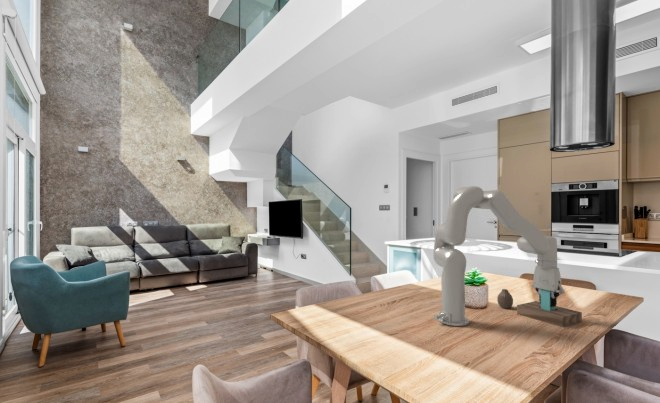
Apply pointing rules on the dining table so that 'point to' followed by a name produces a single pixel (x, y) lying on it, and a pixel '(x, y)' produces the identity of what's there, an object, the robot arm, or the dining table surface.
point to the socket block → (550, 314)
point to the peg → (546, 300)
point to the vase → (505, 299)
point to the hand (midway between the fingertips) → (547, 304)
